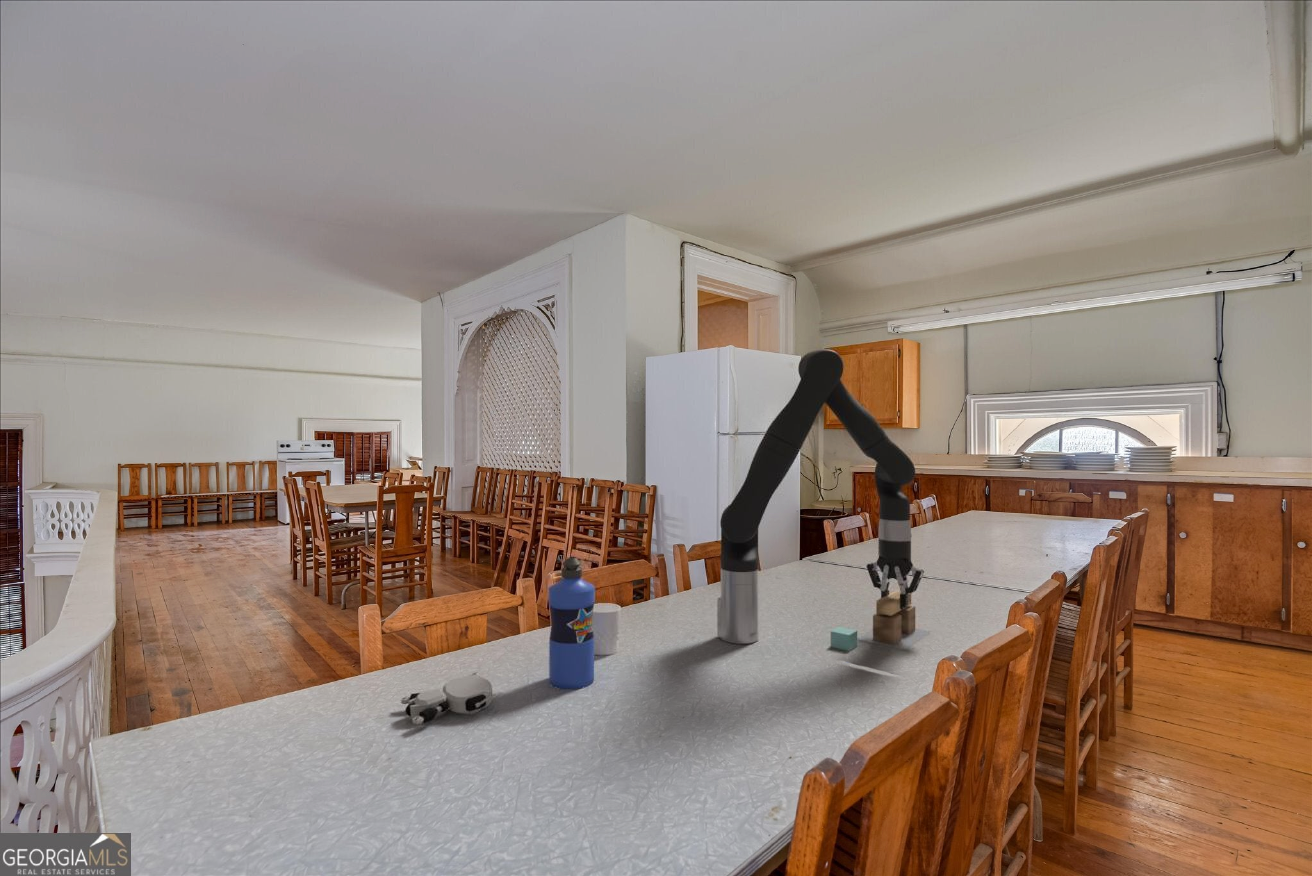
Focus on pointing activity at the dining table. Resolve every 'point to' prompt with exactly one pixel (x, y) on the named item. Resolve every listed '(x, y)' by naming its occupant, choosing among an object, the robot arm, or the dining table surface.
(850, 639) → the cube
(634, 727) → the dining table surface
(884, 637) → the pillar
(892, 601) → the plank
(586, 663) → the water bottle
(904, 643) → the board
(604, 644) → the white cup
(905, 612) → the pillar
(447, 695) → the robot toy
